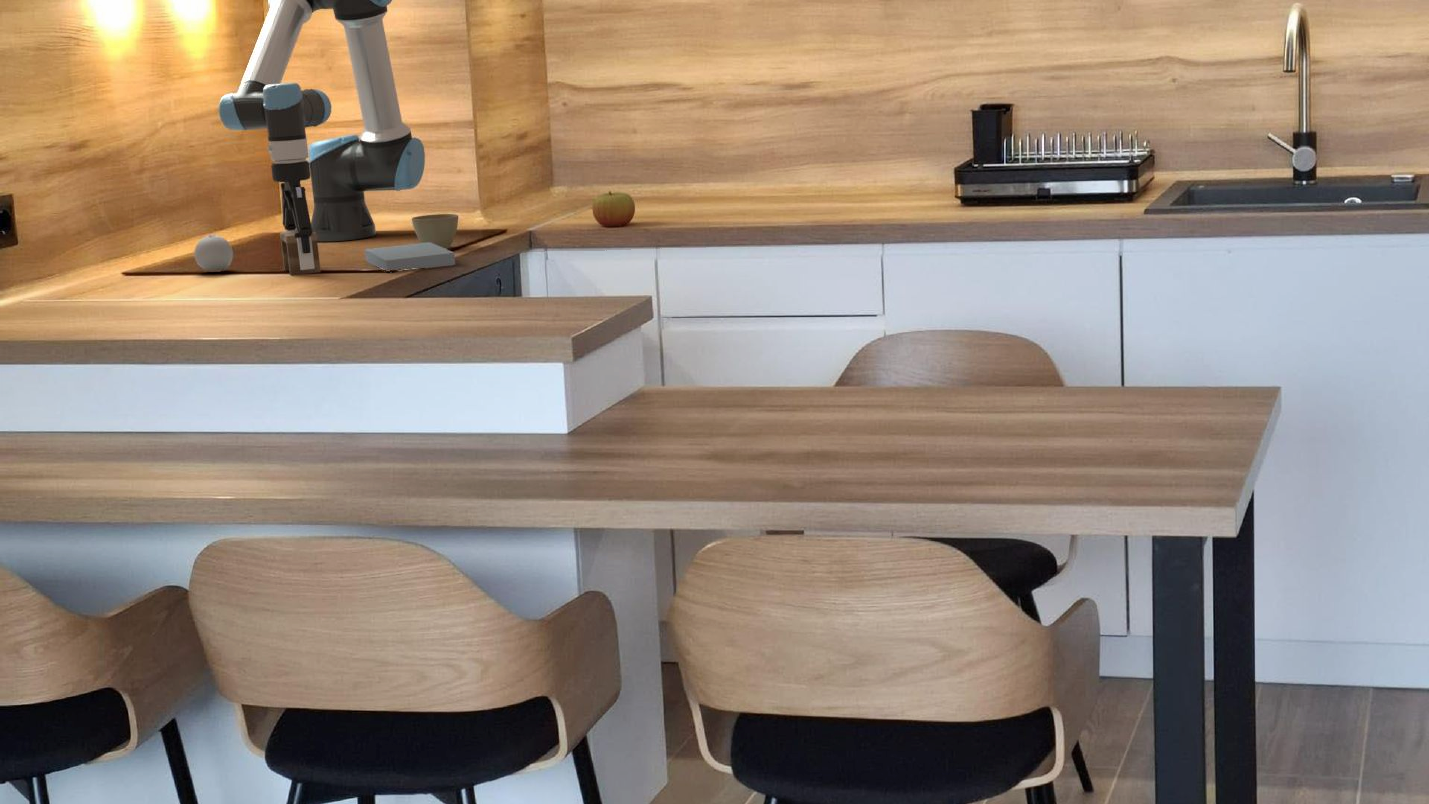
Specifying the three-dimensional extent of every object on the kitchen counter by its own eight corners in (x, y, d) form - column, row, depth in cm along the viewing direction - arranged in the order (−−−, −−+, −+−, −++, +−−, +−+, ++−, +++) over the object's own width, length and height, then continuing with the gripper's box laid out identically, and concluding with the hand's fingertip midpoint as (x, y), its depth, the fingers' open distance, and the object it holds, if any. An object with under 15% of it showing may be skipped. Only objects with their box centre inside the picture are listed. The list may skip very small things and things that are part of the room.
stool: (284, 270, 359) (279, 232, 357) (313, 267, 361) (309, 228, 360) (290, 275, 352) (286, 236, 350) (320, 272, 354) (316, 232, 352)
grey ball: (201, 276, 358) (196, 237, 356) (193, 272, 364) (189, 234, 363) (239, 271, 361) (234, 233, 359) (230, 267, 368) (226, 230, 366)
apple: (586, 228, 396) (583, 193, 395) (604, 222, 405) (602, 188, 403) (625, 228, 393) (622, 193, 391) (643, 222, 401) (640, 187, 400)
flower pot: (452, 252, 371) (448, 218, 370) (407, 253, 373) (404, 220, 372) (467, 245, 381) (464, 212, 379) (424, 246, 383) (421, 214, 381)
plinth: (365, 261, 365) (364, 249, 365) (431, 253, 371) (430, 242, 370) (387, 272, 347) (385, 260, 347) (455, 264, 353) (454, 252, 352)
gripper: (261, 158, 361) (273, 260, 366) (281, 166, 339) (293, 274, 344) (297, 155, 364) (309, 256, 369) (319, 163, 342) (331, 270, 347)
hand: (301, 265), depth 356 cm, fingers open, 13 cm apart
